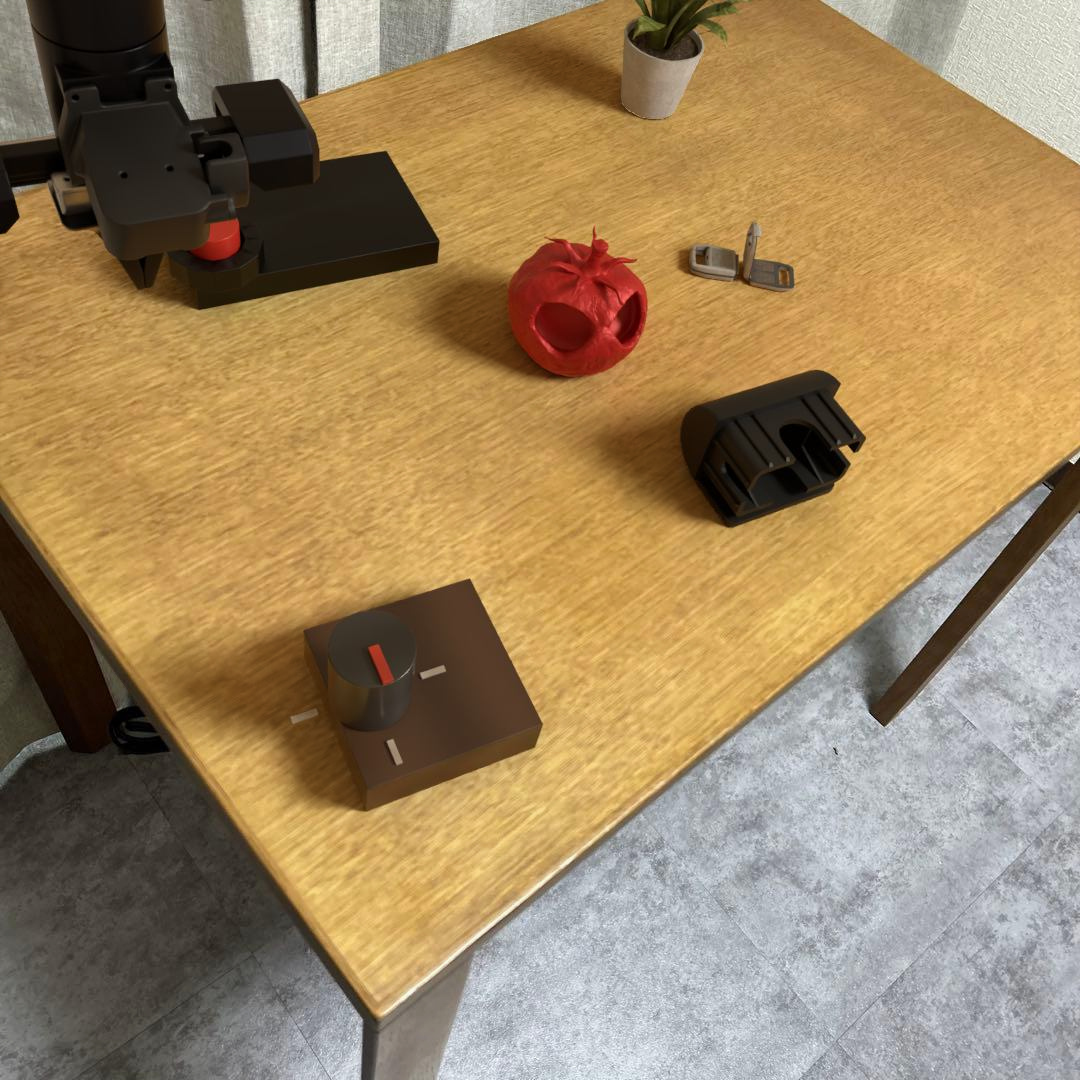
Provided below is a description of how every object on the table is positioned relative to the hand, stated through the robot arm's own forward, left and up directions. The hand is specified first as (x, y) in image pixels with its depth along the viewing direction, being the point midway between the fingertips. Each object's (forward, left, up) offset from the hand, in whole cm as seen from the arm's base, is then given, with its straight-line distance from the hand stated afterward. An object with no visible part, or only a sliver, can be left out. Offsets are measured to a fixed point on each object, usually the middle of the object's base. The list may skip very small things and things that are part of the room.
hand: (143, 284), depth 62 cm
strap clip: (+46, +2, -12) cm, 47 cm away
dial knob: (+5, -24, -9) cm, 26 cm away
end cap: (+36, -16, -12) cm, 41 cm away
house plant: (+49, +23, -12) cm, 55 cm away
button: (+7, +12, -8) cm, 16 cm away
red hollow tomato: (+29, -1, -12) cm, 31 cm away
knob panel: (+6, -24, -12) cm, 28 cm away
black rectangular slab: (+14, +15, -12) cm, 23 cm away
